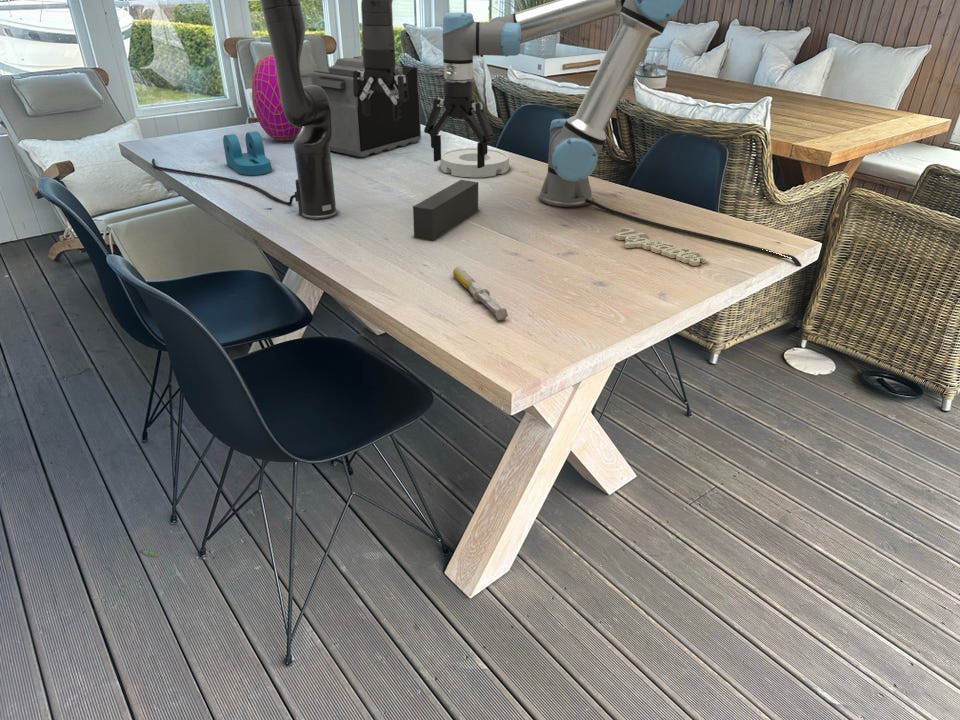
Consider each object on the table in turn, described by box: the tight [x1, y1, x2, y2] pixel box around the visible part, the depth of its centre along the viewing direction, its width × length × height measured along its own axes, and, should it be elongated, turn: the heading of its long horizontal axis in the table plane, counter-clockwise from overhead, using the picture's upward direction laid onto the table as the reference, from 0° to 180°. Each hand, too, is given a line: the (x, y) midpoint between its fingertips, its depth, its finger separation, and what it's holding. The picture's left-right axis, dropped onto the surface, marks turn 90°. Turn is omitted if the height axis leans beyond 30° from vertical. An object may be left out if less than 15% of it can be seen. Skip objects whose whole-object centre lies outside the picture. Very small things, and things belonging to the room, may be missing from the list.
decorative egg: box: [251, 54, 303, 142], centre depth 257 cm, size 19×19×30 cm
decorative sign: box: [615, 227, 707, 267], centre depth 169 cm, size 26×1×10 cm
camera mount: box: [222, 131, 272, 176], centre depth 226 cm, size 18×10×10 cm, turn 35°
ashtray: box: [439, 147, 510, 178], centre depth 231 cm, size 23×23×4 cm
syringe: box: [452, 266, 509, 321], centre depth 145 cm, size 25×4×3 cm, turn 21°
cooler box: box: [310, 55, 422, 159], centre depth 250 cm, size 37×22×30 cm, turn 144°
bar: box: [412, 179, 479, 242], centre depth 183 cm, size 27×6×8 cm, turn 155°
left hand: (381, 118), depth 168 cm, fingers open, 8 cm apart
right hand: (458, 163), depth 186 cm, fingers open, 13 cm apart
